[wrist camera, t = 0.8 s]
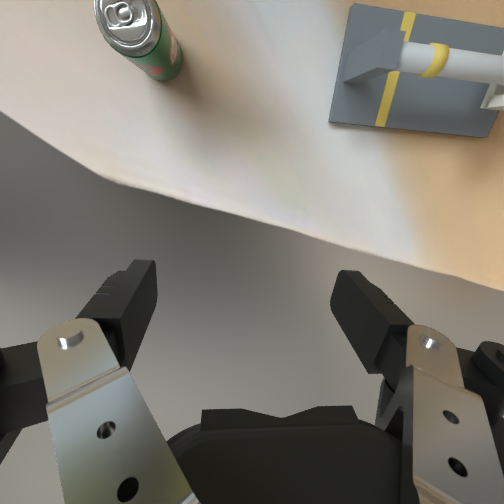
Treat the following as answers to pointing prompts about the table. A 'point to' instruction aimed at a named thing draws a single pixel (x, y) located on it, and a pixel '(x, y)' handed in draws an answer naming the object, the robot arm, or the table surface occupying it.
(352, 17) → the rail stand
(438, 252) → the table surface
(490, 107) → the collar
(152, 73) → the soda can
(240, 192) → the table surface
